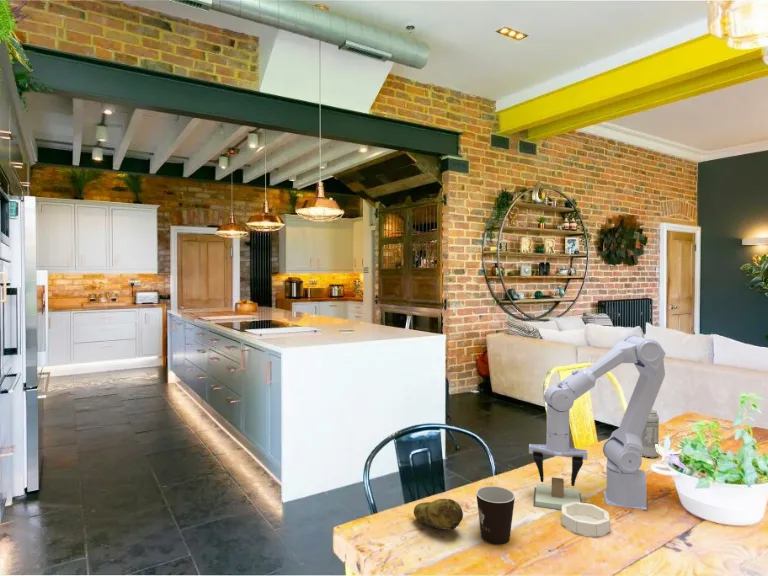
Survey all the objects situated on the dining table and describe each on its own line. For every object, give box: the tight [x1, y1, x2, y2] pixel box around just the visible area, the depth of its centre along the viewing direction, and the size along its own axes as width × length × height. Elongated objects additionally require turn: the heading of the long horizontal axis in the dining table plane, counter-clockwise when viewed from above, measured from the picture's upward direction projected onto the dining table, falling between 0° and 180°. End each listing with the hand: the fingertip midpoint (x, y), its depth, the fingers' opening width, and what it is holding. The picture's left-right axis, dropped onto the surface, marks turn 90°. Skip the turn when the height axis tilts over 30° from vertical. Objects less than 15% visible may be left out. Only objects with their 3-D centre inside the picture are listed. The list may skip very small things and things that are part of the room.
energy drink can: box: [641, 409, 660, 459], centre depth 162 cm, size 6×6×15 cm
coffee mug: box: [475, 485, 516, 546], centre depth 114 cm, size 12×9×10 cm
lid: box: [535, 477, 580, 509], centre depth 130 cm, size 11×11×5 cm
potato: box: [413, 498, 464, 531], centre depth 116 cm, size 8×13×8 cm, turn 26°
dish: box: [561, 502, 611, 538], centre depth 117 cm, size 10×10×3 cm
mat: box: [532, 486, 583, 512], centre depth 130 cm, size 12×12×1 cm
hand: (557, 482), depth 130 cm, fingers open, 7 cm apart
